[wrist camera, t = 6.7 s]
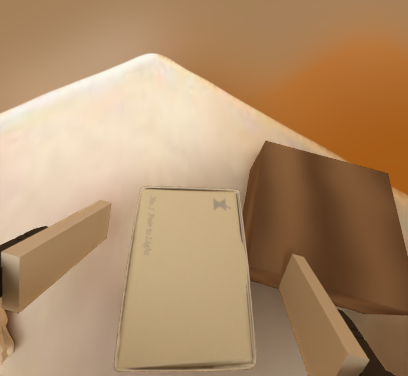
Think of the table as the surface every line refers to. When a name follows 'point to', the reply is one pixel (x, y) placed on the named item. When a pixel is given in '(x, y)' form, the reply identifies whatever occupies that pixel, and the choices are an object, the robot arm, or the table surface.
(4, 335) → the beige slender tapered piece
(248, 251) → the walnut plinth
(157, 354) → the skincare box
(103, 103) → the table surface
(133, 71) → the table surface
